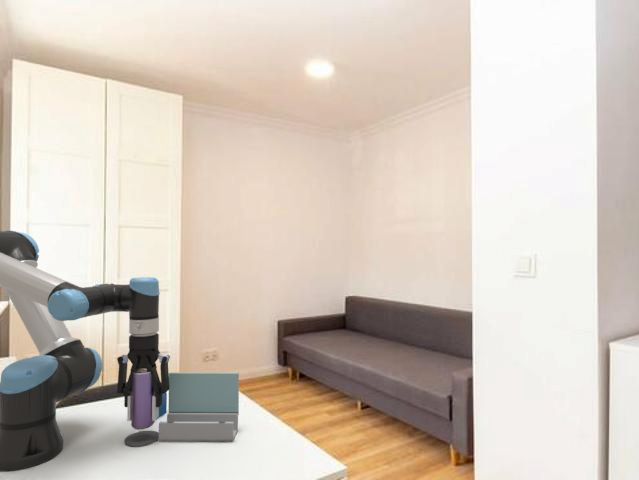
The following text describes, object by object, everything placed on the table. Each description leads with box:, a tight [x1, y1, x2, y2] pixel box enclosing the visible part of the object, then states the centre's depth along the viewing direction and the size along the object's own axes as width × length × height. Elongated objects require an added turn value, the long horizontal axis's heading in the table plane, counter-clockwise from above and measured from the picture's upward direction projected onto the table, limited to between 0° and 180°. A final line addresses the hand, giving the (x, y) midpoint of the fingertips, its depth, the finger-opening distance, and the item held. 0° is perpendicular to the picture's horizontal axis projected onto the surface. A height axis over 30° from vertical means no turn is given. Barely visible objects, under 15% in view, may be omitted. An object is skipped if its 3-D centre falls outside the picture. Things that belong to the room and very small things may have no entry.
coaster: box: [123, 430, 159, 448], centre depth 111 cm, size 9×9×1 cm
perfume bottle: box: [155, 392, 168, 421], centre depth 127 cm, size 6×6×12 cm
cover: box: [168, 371, 240, 416], centre depth 117 cm, size 20×12×1 cm
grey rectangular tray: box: [158, 412, 239, 443], centre depth 113 cm, size 20×7×5 cm, turn 90°
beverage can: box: [130, 368, 156, 431], centre depth 111 cm, size 6×6×15 cm
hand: (143, 418), depth 111 cm, fingers closed on beverage can, 6 cm apart
